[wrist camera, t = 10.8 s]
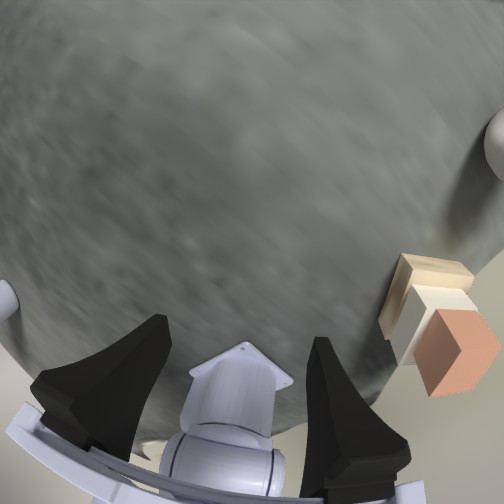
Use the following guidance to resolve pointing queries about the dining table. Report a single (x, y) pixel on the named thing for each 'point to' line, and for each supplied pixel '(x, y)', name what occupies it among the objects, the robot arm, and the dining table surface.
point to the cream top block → (422, 317)
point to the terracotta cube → (455, 351)
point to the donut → (495, 144)
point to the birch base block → (424, 274)
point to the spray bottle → (7, 301)
